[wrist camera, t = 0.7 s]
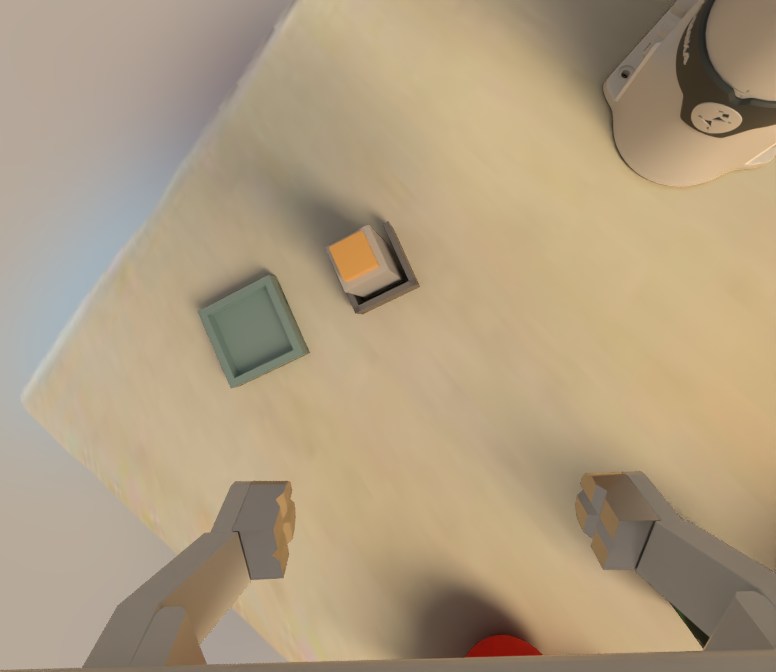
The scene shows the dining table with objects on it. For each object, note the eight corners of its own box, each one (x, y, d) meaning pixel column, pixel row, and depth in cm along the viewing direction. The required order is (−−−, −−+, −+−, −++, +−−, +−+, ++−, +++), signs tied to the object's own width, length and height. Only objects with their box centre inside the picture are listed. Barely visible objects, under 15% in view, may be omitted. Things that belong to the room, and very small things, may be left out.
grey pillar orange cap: (387, 244, 50) (364, 220, 38) (404, 281, 50) (386, 267, 38) (352, 262, 51) (319, 244, 39) (368, 298, 50) (340, 290, 39)
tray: (276, 276, 53) (268, 274, 51) (309, 352, 52) (303, 354, 50) (207, 311, 55) (197, 311, 52) (239, 385, 54) (230, 388, 52)
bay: (393, 228, 50) (388, 221, 46) (420, 286, 49) (416, 283, 46) (337, 257, 51) (328, 252, 48) (362, 314, 51) (355, 313, 47)
